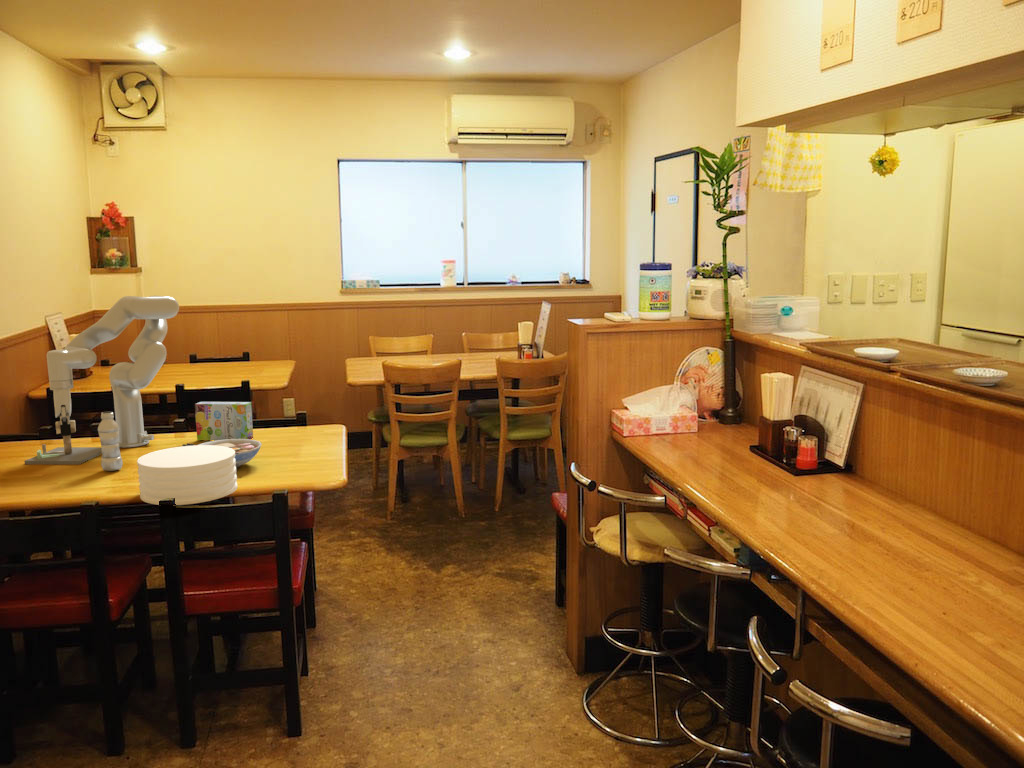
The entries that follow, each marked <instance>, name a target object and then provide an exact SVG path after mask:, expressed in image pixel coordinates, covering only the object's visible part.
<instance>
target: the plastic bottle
mask: <svg viewBox="0 0 1024 768" xmlns="http://www.w3.org/2000/svg"><path fill="white" fill-rule="evenodd" d="M100 414H101V415H100V419H101V421H100V422H99V424H98V426H97V432H98V437H99V439H100V440H99V441H100V445H101V447H102V455H101V459H100V464H101V465H100V466H101V469H102V470H103V471H105V472H114V471H118V470H121V469H122V467H123V462H124V461H123V459H122V456H121V450H120V449H121V448H120V447H119V426H118V424H117V423H116V420H114V417H115V415H114V412H113V411H104V412H101V413H100Z"/></svg>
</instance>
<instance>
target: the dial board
mask: <svg viewBox="0 0 1024 768" xmlns="http://www.w3.org/2000/svg"><path fill="white" fill-rule="evenodd" d="M57 451H64V446H63V447H61V446H60V447H55V448H52V449H51V450H48V451H47V452H57ZM100 454H102V447H95V446H93V447H91V446H90V447H88V446H85V447H84V446H83V447H79V446H78V447H77V446H76V447H74V446H72V453H71V454H65V453H61V454H50V455H43V453H42V449H38V450H37V451H36V456H33V457H31V458H28V459H25V460H24V461H23V462H24V465H81V463H82V464H84V463H86V462H88V461H87V460H89V461H90V459H91V460H92V458H93V459H95V458H97V457H99V455H100ZM96 456H97V457H96ZM100 456H101V455H100ZM94 457H95V458H94ZM85 461H86V462H85ZM83 462H84V463H83Z"/></svg>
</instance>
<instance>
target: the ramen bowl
mask: <svg viewBox="0 0 1024 768" xmlns="http://www.w3.org/2000/svg"><path fill="white" fill-rule="evenodd" d="M193 445H195V444H193V443H189V442H188V443H186V444H182V445H181V447H182V446H193ZM198 445H217V446H225V447H229V448H232V449H233V450H234V451H235V459H236V465H235V466H236V469H237V467H238V468H239V467H241V466H242V465H245V464H247V463H249V462H250V461H252V460H253V459H254V457H256V455H257V454H258V452H259V451H260V449H261V447H262V442H261V441H259V440H256V439H253V440H251V439H225V440H216V441H204V442H203V443H199V444H198Z"/></svg>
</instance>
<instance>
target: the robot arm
mask: <svg viewBox="0 0 1024 768" xmlns="http://www.w3.org/2000/svg"><path fill="white" fill-rule="evenodd" d="M179 311H180V304H179V303H178V301H177V299H175V298H174V297H172V296H168V295H167V296H166V295H150V296H139V295H138V296H136V295H133V296H132V295H125V296H123V297H121V298H119V299H118V300H117V301H116V302H115V303H114V304H113V305H112V306H111V307H110V309H109V310H107V312H105V314H104V315H103V316H102V317H101V318H100V319H99V320H98V321H97V322H94V323H93V324H92V325H90V326H89V327H87V328H86V329H84V330H83V331H81V332H79V334H77V335H76V336H75V337H73V339H72V340H71V341H70V342H69V343H68V344H67V345H66V346H65V347H64V349H54V350H53V349H52V350H49V351H47V352H46V363H47V364H46V365H47V374H48V383H49V390H50V391H52V392H53V404H54V405H53V406H54V416H55V418H58V417H59V421H60V423H61V425H60V430H61V433H60V435H61V437H63V436H69V435H70V436H72V433H71V427H70V424H69V420H71V418H70V417H71V414H72V398H71V397H72V396H71V394H72V393H71V389H74V379H73V378H74V377H73V376H74V375H73V369H85V370H86V369H89V368H92V367H93V366H95V364H96V362H97V357H98V356H97V355H96V353H95V351H94V350H93V349H94V348H96V347H97V346H99V345H101V344H103V343H107V342H110V341H112V340H114V339H116V338H117V337H119V335H121V334H122V333H123V331H124V330H126V328H127V327H128V326H129V325H130V324H131V323H132V322H133V321H134V320H145V323H144V326H143V328H142V329H141V331H140V333H139V334H138V336H137V337H136V338H135V340H134V341H133V342H132V344H131V345H130V347H129V349H128V352H127V354H128V355H127V356H128V357H129V360H131V361H132V362H127V361H123V362H118V363H116V364H113V366H112V367H111V368H110V371H109V374H108V375H109V376H108V378H109V383H110V385H111V391H112V393H113V405H114V406H113V408H114V417H115V422H116V423H117V424H118V426H119V449H121V448H123V449H124V448H125V449H126V448H136V447H142V446H145V445H148V444H149V443H150V441H154V439H155V435H154V434H152V433H150V434H148V432H147V430H145V428H144V417H143V416H144V415H143V414H144V413H143V405H142V404H143V401H142V396H141V391H140V390H143V389H145V388H147V387H148V386H149V385H150V384H151V383H152V381H153V379H155V377H156V375H157V374H158V373H159V371H160V370H161V368H162V366H163V365H164V364H165V361H166V360H167V354H168V353H167V347H166V346H165V345H164V344H163V341H164V340H165V338H166V336H167V334H168V328H169V326H168V320H167V319H173V318H174V317H176V316H177V315H178V313H179Z"/></svg>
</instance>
